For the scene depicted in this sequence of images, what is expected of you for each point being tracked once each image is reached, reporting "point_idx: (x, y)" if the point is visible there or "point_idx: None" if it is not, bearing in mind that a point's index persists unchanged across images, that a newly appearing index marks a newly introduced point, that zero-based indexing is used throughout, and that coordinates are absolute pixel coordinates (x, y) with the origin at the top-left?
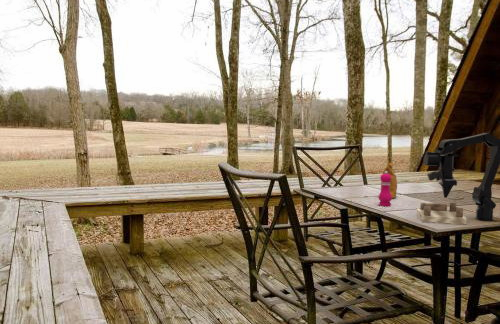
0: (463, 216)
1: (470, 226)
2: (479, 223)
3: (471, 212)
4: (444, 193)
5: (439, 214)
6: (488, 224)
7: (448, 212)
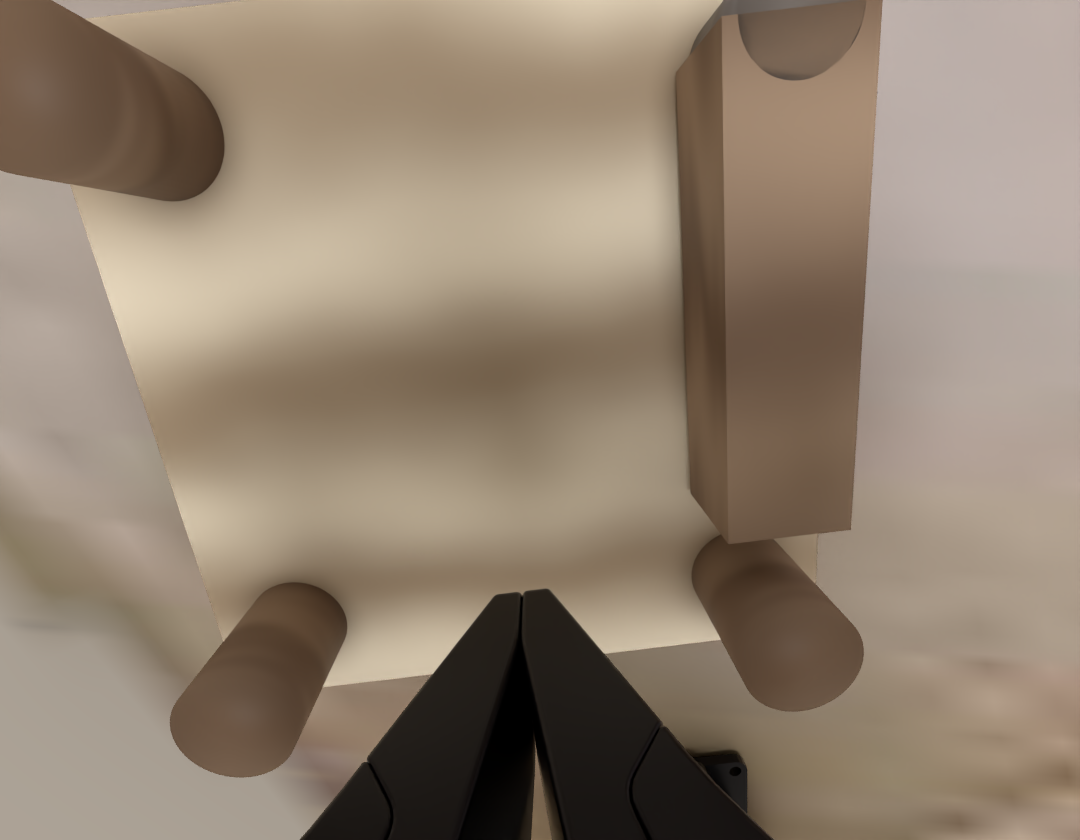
0: (357, 673)
1: None
2: None
3: (1052, 736)
4: (431, 701)
5: (347, 362)
6: None
7: (592, 507)
